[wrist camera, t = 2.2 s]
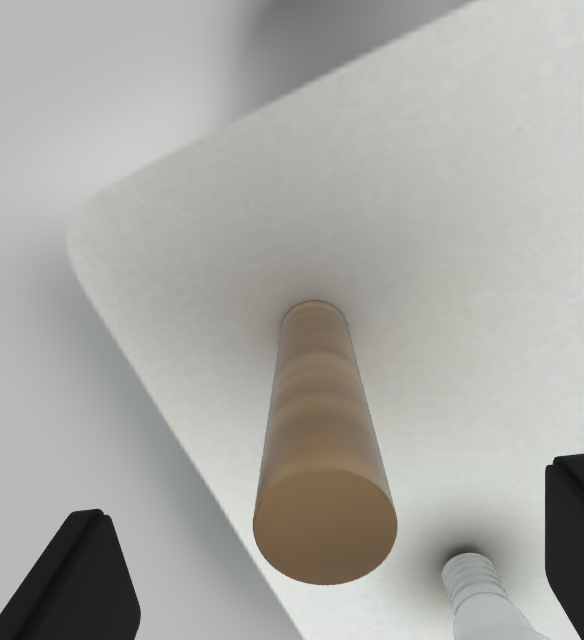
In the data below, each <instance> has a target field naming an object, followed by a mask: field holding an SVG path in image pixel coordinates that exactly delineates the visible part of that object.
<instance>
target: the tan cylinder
mask: <svg viewBox="0 0 584 640" xmlns="http://www.w3.org/2000/svg"><path fill="white" fill-rule="evenodd" d="M253 533H254V538H255V541H256V544H257V546H258V548H259V550H260V552H261V554H262V555H263V556H264V558H265V559H266V560H267V561H268V562H269V564H270V565H272V566H273V567H274V568H275V569H276V570H278V571H279V572H281V573H282V574H284V575H286V576H288V577H290V578H292V579H295V580H297V581H300V582H304V583H308V584H315V585H336V584H343V583H347V582H350V581H353V580H356V579H359V578H361V577H363V576H365V575H367V574H368V573H370V572H371V571H373V570H374V569H376V568H377V567H378V566H379V565H380V564H381V563H382V562H383V561H384V560H385V559H386V557H387V556H388V554H389V553H390V551H391V549H392V547H393V545H394V542H395V539H396V535H397V517H396V512H395V508H394V504H393V500H392V496H391V492H390V489H389V485H388V481H387V477H386V473H385V469H384V465H383V461H382V458H381V454H380V450H379V446H378V442H377V438H376V434H375V430H374V427H373V423H372V419H371V415H370V411H369V407H368V403H367V399H366V396H365V392H364V388H363V384H362V380H361V376H360V372H359V368H358V365H357V361H356V357H355V353H354V349H353V345H352V341H351V337H350V333H349V330H348V326H347V322H346V320H345V318H344V316H343V315H342V313H341V312H340V311H339V310H338V309H337V308H336V307H334V306H333V305H331V304H329V303H326V302H323V301H307V302H303V303H300V304H298V305H297V306H295V307H294V308H292V309H291V310H290V311H289V312H288V313H287V315H286V316H285V318H284V320H283V322H282V326H281V332H280V339H279V346H278V353H277V360H276V366H275V373H274V380H273V387H272V394H271V401H270V408H269V414H268V421H267V428H266V435H265V442H264V449H263V456H262V462H261V469H260V476H259V483H258V490H257V497H256V504H255V510H254V517H253Z"/></svg>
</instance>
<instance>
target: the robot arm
mask: <svg viewBox="0 0 584 640" xmlns="http://www.w3.org/2000/svg"><path fill="white" fill-rule="evenodd" d="M545 571H546V576H547V579H548V582H549V584H550V587H551V588H552V590H553V592H554V594H555V595H556V597H557V599H558V601H559V602H560V604H561V606H562V607H563V609H564V611H565V613H566V614H567V616H568V618H569V619H570V621H571V623H572V624H573V626H574V628H575V630H576V631H577V633H578V635H579V636H580V638H581V640H584V454H576V455H567V456H559V457H555V458H554V460H553V465H548V466H546V470H545ZM140 617H141V611H140V606H139V602H138V599H137V596H136V593H135V590H134V587H133V584H132V581H131V578H130V575H129V571H128V568H127V565H126V562H125V559H124V556H123V553H122V550H121V547H120V544H119V541H118V538H117V534H116V531H115V529H114V526H113V523H112V519H111V517H110V516H109V515H104V513H103V512H102V511H101V510H100V509H92V510H83V511H75V512H72V513H71V514H70V515H69V516H68V517H67V519H66V520H65V521H64V523H63V525H62V526H61V527H60V529H59V530H58V532H57V533H56V535H55V536H54V537H53V539H52V540H51V542H50V543H49V545H48V546H47V547H46V549H45V550H44V552H43V553H42V555H41V556H40V558H39V559H38V561H37V562H36V563H35V565H34V566H33V568H32V569H31V571H30V572H29V573H28V575H27V576H26V578H25V579H24V581H23V582H22V584H21V585H20V586H19V588H18V589H17V591H16V592H15V594H14V595H13V597H12V598H11V599H10V601H9V602H8V604H7V605H6V607H5V608H4V609H3V611H2V612H1V614H0V640H134V638H135V636H136V633H137V630H138V628H139V624H140Z"/></svg>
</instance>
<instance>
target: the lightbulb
mask: <svg viewBox="0 0 584 640" xmlns="http://www.w3.org/2000/svg"><path fill="white" fill-rule="evenodd" d="M442 580H443V582H444V585H445V588H446V591H447V595H448V597H449V601H450V603H451V606H452V610H453V613H454V616H455V618H454V624H453V633H454V640H551V639H550V638H548V637H546V636H545V635H543V634H541V633H540V632H538V631H537V630H536V629H534V628H533V626H532V625H531V624H530V623H529V621H528V620H527V618H526V617H525V616H524V614H523V613H522V612H521V611H520V610H519V609H518V608H517V607H516V606H515V605H514V604H513V603H512V602H510V600H509V598H508V596H507V594H506V592H505V589H504V588H503V586H502V583H501V581H500V579H499V577H498V574H497V573H496V570H495V568H494V565H493V564H492V562H491V561H490V560H489V559H488V558H486V557H485V556H483V555H480V554H476V553H464V554H460V555H457V556H455V557H453V558H452V559H450V560H449V561H448V562H447V563H446V565H445V566H444V568H443V571H442Z"/></svg>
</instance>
